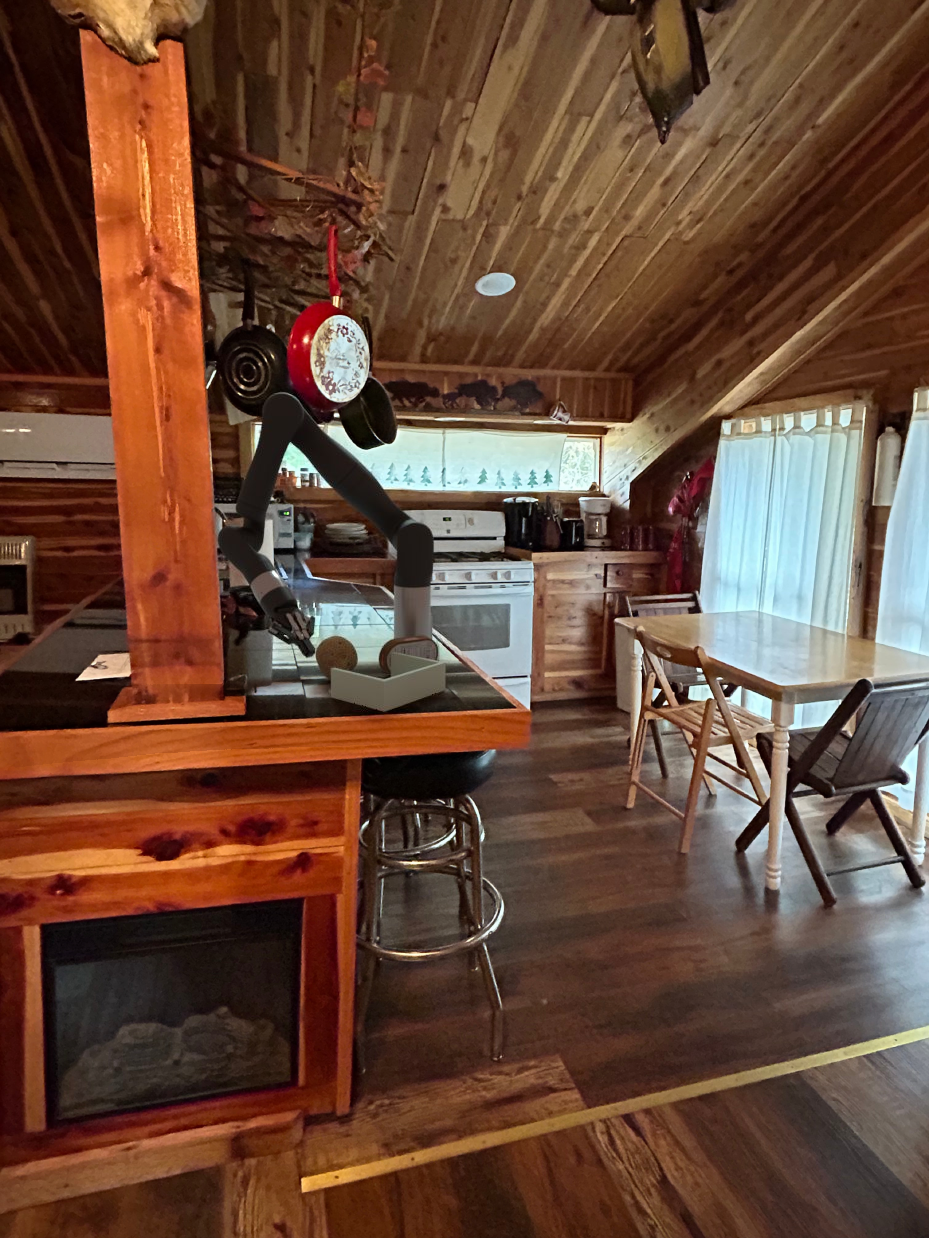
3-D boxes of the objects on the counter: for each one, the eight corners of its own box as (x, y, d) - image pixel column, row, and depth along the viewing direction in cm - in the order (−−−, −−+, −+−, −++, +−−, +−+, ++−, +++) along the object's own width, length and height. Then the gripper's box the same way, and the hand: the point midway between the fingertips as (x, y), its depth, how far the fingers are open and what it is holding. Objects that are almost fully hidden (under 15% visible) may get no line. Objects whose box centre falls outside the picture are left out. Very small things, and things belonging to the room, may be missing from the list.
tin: (432, 667, 178) (433, 632, 177) (440, 670, 176) (440, 634, 174) (377, 676, 169) (377, 639, 168) (385, 679, 167) (385, 642, 165)
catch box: (393, 678, 168) (393, 651, 167) (445, 690, 160) (445, 662, 159) (331, 697, 153) (330, 668, 152) (384, 711, 145) (384, 681, 144)
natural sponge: (339, 673, 171) (339, 629, 170) (366, 680, 166) (366, 636, 164) (307, 680, 165) (307, 636, 163) (335, 688, 159) (334, 642, 157)
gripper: (257, 588, 167) (296, 650, 162) (303, 582, 177) (341, 640, 172) (243, 609, 171) (280, 670, 166) (288, 601, 181) (325, 659, 176)
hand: (311, 655), depth 169 cm, fingers closed
